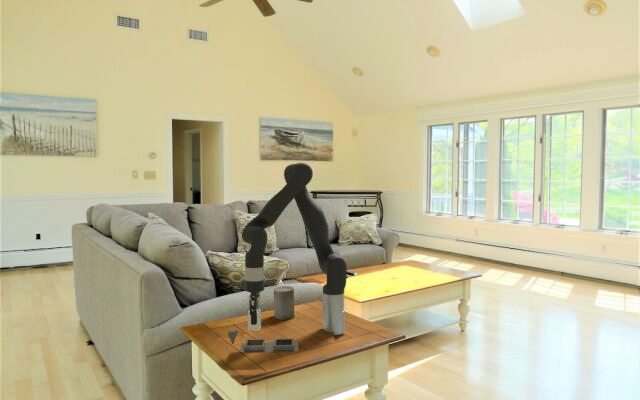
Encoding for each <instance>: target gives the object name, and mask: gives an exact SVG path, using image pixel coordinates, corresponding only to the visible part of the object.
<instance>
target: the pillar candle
mask: <svg viewBox="0 0 640 400" xmlns="http://www.w3.org/2000/svg"><path fill="white" fill-rule="evenodd" d="M273 308H274V309H273V311H274V312H273V313H274V316H273V317H274V318H275V319H276V320H279V321H287V320H290V319H293V318H295V288H294V287H293V286H290V285H287V286H285V285H283V286H282V285H280V286H277V287H273Z"/></svg>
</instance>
